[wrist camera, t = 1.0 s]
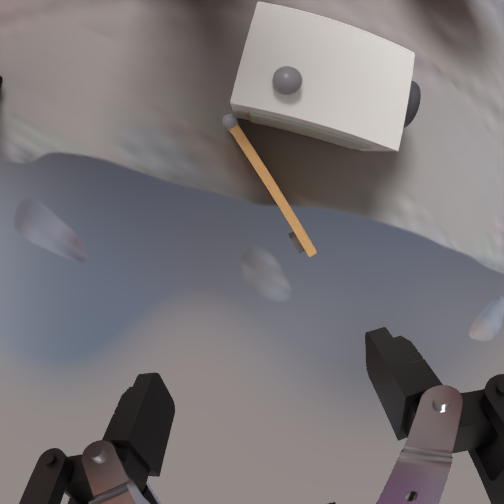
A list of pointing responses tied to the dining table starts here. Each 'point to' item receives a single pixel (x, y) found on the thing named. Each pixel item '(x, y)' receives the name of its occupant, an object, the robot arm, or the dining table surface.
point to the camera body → (324, 80)
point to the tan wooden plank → (270, 186)
